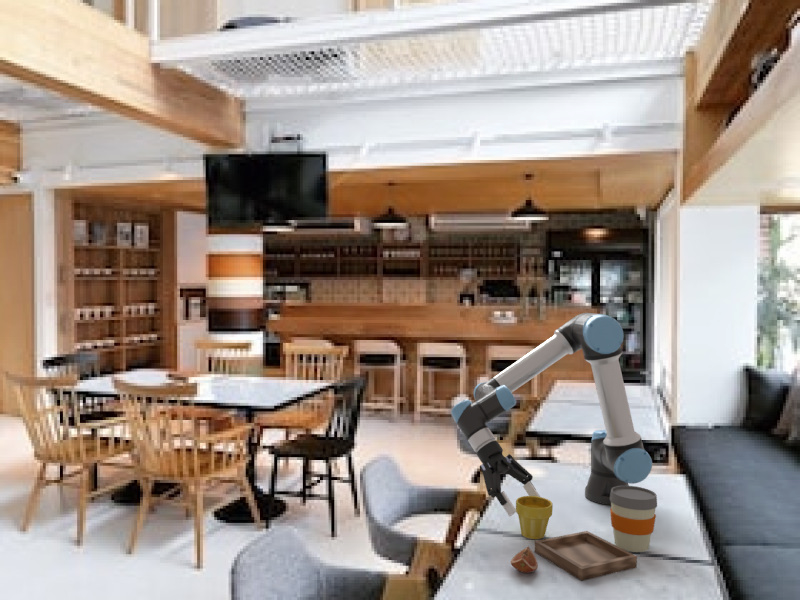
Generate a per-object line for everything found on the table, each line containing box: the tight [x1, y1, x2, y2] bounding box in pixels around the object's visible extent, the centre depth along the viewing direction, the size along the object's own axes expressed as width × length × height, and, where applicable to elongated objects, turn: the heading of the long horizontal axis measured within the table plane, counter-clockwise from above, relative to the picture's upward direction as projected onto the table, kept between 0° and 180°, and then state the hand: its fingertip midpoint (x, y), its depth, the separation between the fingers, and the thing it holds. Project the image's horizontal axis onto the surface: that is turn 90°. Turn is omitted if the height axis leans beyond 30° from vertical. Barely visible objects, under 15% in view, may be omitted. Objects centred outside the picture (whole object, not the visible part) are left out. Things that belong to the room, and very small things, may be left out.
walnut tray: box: [534, 530, 638, 582], centre depth 173 cm, size 18×18×3 cm
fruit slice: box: [510, 546, 539, 574], centre depth 166 cm, size 8×7×5 cm
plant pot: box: [515, 495, 553, 540], centre depth 189 cm, size 10×10×10 cm
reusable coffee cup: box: [609, 485, 658, 553], centre depth 184 cm, size 13×13×15 cm
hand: (526, 508), depth 190 cm, fingers open, 13 cm apart
